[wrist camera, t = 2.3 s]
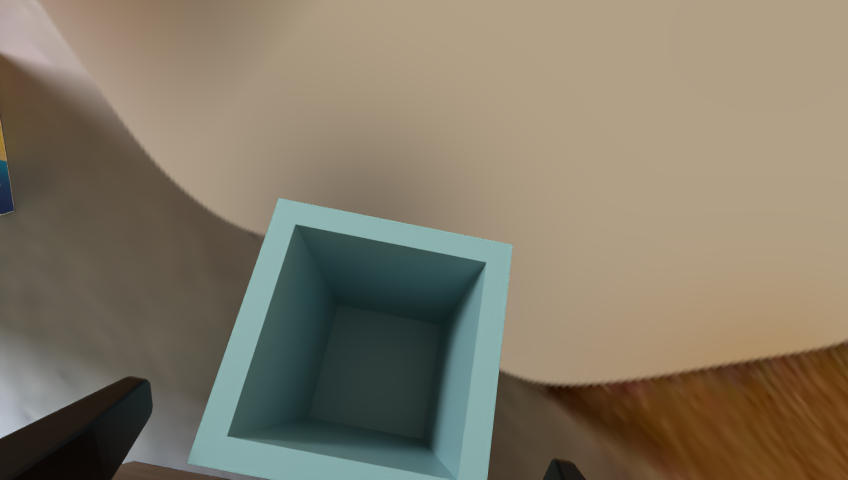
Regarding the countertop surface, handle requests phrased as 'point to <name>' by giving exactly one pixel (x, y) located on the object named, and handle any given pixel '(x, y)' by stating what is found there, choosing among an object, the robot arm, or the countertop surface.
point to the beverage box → (5, 181)
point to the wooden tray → (156, 473)
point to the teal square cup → (360, 353)
